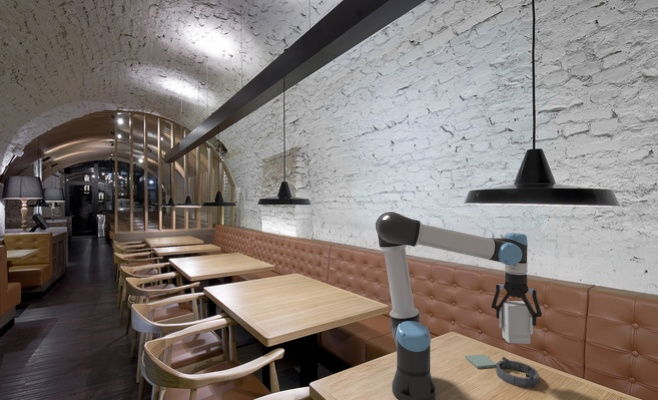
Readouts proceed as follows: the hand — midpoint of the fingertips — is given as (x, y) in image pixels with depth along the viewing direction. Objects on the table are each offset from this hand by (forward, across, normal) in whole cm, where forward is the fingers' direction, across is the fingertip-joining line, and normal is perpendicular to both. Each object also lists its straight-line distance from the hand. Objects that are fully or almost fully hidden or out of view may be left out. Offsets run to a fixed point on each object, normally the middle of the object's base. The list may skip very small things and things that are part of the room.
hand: (515, 330), depth 125 cm
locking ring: (+18, 0, 0) cm, 18 cm away
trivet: (+18, -13, +4) cm, 23 cm away
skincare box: (+4, 0, 0) cm, 4 cm away
